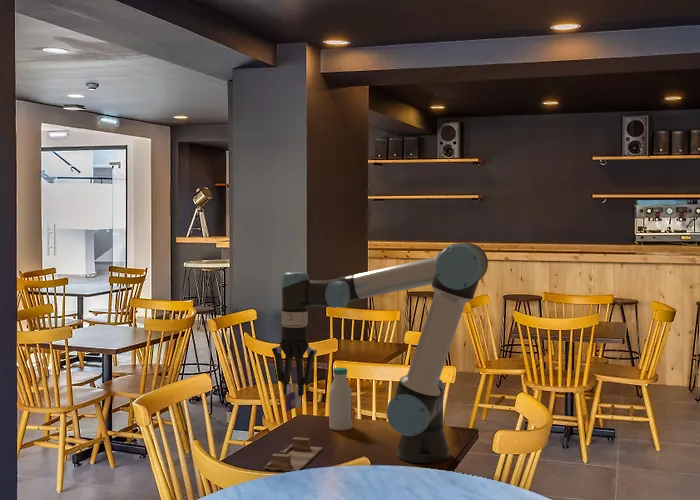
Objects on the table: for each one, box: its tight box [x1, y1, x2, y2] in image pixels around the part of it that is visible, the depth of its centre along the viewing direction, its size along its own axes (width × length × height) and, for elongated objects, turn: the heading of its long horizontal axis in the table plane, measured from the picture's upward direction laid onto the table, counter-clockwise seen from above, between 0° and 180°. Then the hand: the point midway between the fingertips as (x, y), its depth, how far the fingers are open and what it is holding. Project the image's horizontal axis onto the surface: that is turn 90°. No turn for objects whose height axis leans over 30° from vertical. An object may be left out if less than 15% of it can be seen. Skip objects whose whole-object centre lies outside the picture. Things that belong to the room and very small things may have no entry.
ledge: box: [264, 436, 323, 472], centre depth 223 cm, size 22×10×4 cm, turn 165°
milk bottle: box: [328, 367, 353, 431], centre depth 256 cm, size 8×8×20 cm
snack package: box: [285, 390, 296, 413], centre depth 223 cm, size 12×2×5 cm, turn 163°
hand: (293, 406), depth 223 cm, fingers closed on snack package, 2 cm apart
